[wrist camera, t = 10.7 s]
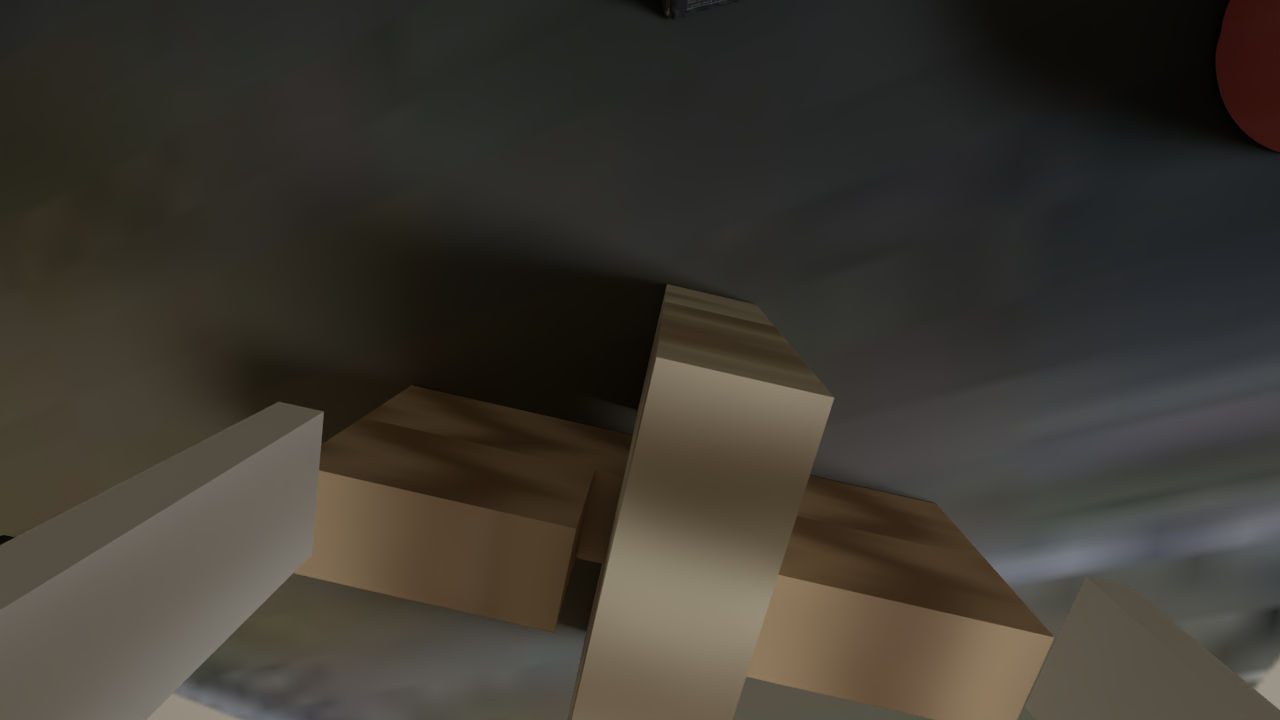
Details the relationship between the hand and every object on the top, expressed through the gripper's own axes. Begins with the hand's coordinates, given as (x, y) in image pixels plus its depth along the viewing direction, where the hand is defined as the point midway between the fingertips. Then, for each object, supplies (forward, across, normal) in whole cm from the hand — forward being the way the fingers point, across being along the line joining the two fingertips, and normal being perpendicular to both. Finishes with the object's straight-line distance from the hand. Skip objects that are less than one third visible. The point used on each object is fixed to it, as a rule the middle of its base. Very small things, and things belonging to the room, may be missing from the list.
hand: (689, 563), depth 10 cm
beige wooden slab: (+14, +1, -5) cm, 15 cm away
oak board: (+14, +1, -5) cm, 15 cm away
